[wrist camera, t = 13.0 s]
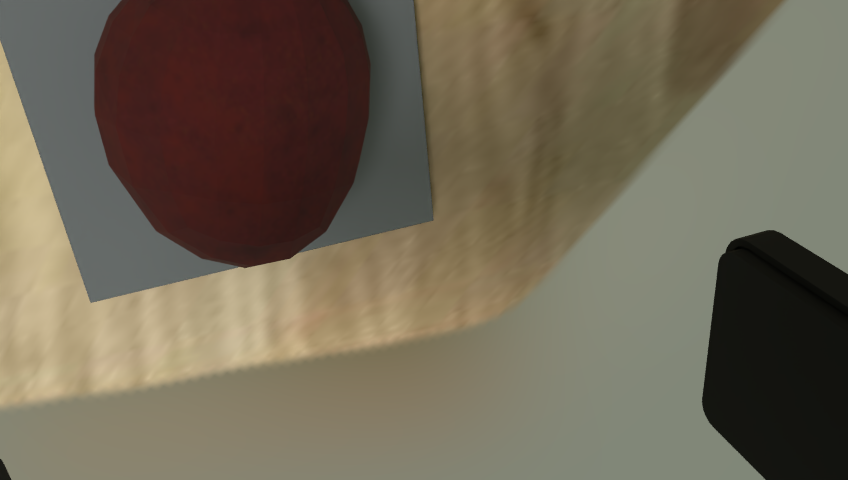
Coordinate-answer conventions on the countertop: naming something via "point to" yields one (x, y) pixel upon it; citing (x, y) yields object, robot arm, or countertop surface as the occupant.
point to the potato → (234, 119)
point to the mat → (112, 204)
